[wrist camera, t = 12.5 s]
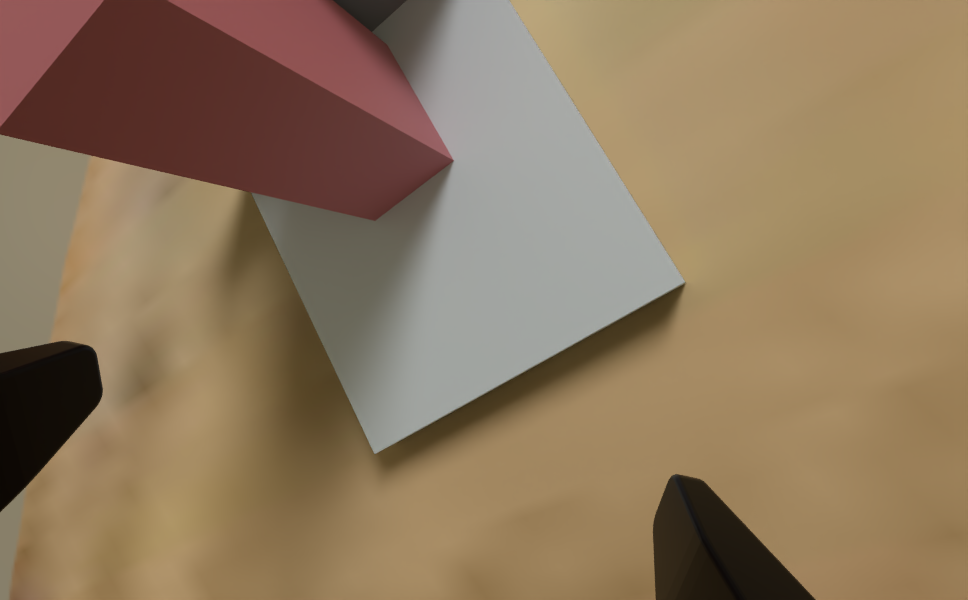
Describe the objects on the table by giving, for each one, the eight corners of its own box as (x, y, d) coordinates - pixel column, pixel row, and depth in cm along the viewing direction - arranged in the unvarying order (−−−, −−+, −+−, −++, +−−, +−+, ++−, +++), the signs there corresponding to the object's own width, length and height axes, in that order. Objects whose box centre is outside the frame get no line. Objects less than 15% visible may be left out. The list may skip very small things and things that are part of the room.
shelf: (685, 282, 16) (680, 274, 9) (396, 443, 20) (241, 521, 13) (475, -54, 19) (347, -258, 12) (253, 146, 23) (58, 80, 16)
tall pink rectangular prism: (453, 160, 18) (123, -24, 7) (375, 220, 19) (-5, 132, 9) (387, 44, 19) (10, -263, 8) (316, 109, 20) (-93, -92, 9)
